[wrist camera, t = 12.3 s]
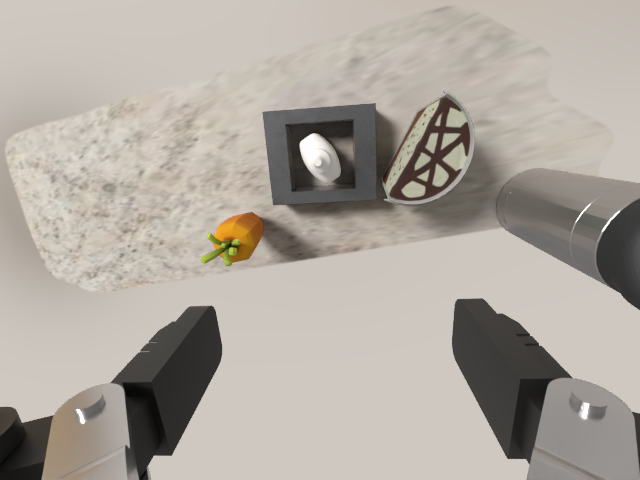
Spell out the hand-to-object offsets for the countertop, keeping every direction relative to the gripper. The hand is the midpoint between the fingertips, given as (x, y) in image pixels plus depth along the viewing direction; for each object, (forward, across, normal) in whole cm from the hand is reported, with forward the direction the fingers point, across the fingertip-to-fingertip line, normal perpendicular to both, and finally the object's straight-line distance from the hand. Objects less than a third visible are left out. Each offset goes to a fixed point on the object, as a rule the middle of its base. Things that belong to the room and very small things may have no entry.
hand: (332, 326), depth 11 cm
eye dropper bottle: (+34, +2, -4) cm, 34 cm away
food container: (+34, -11, -3) cm, 36 cm away
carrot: (+34, +12, +4) cm, 36 cm away
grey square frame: (+34, +2, -4) cm, 34 cm away
